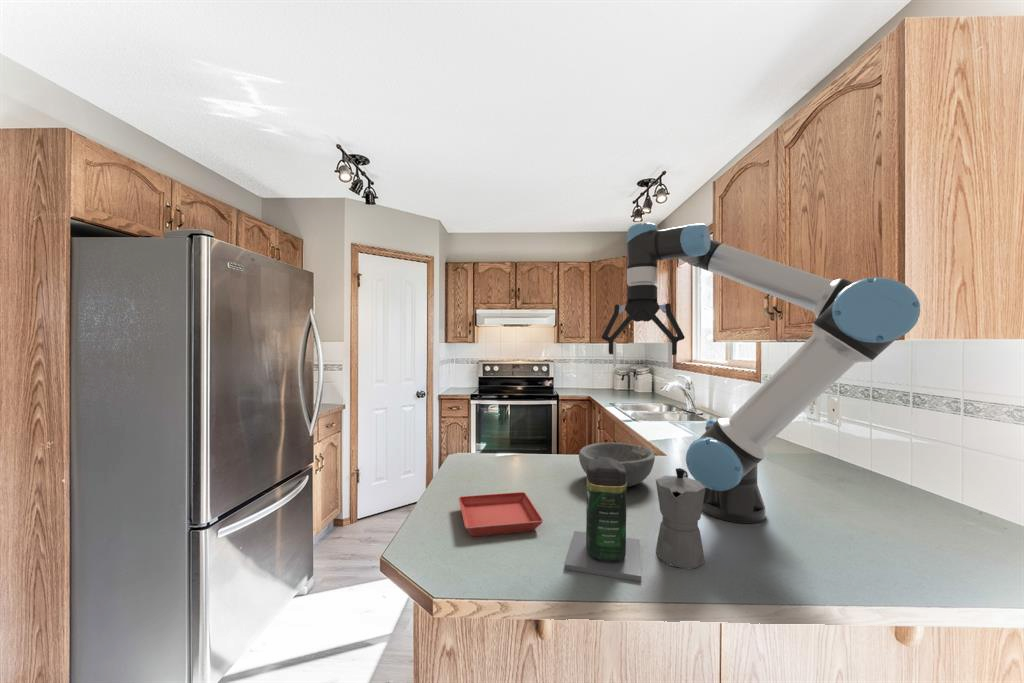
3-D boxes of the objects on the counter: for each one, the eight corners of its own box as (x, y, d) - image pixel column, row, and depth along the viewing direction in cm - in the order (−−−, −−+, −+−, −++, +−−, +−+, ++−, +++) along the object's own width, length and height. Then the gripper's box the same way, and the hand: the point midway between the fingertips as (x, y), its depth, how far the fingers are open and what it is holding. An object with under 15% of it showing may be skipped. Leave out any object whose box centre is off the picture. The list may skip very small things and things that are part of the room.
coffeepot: (703, 580, 74) (703, 482, 74) (649, 566, 79) (649, 474, 79) (707, 543, 88) (708, 460, 88) (662, 533, 92) (662, 454, 92)
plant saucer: (524, 502, 110) (524, 490, 110) (544, 534, 93) (544, 520, 93) (458, 509, 106) (458, 496, 106) (465, 543, 89) (465, 528, 89)
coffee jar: (629, 566, 77) (629, 469, 77) (587, 562, 78) (587, 467, 78) (623, 540, 87) (623, 454, 87) (585, 538, 88) (585, 452, 88)
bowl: (584, 467, 139) (584, 438, 139) (653, 474, 132) (654, 443, 132) (573, 491, 117) (573, 457, 117) (655, 501, 110) (655, 464, 110)
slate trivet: (639, 543, 87) (639, 539, 87) (641, 581, 74) (641, 576, 74) (574, 535, 91) (574, 530, 91) (564, 569, 78) (564, 564, 78)
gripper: (692, 285, 105) (691, 367, 105) (594, 288, 112) (594, 365, 112) (696, 281, 98) (696, 369, 98) (591, 285, 105) (591, 367, 105)
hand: (641, 367), depth 105 cm, fingers open, 13 cm apart
